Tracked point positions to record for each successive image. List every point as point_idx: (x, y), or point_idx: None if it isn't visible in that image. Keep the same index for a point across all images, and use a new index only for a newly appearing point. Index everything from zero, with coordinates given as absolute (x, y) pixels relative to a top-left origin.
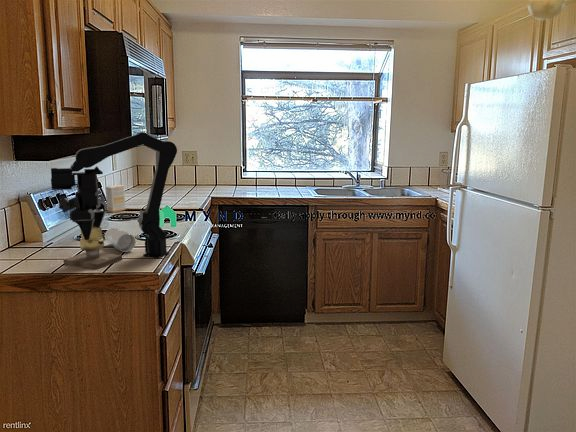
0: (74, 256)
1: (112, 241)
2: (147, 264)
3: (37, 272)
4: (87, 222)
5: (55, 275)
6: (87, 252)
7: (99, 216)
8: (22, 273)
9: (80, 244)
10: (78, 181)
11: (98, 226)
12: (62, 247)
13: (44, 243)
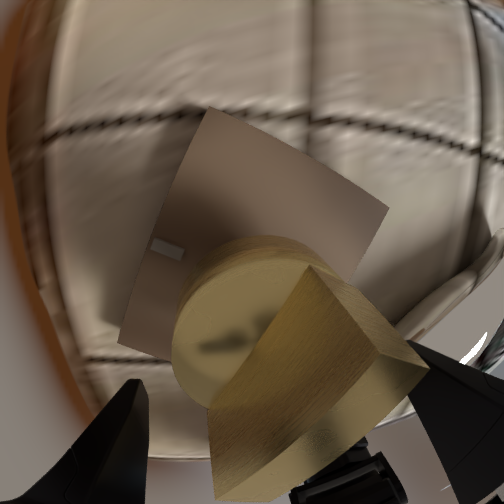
0: (279, 154)
1: (441, 310)
2: (207, 441)
3: (62, 58)
4: None
5: (19, 176)
6: None
7: (466, 474)
8: (61, 7)
9: (215, 267)
10: None
11: (420, 408)
12: (478, 56)
13: (495, 9)
